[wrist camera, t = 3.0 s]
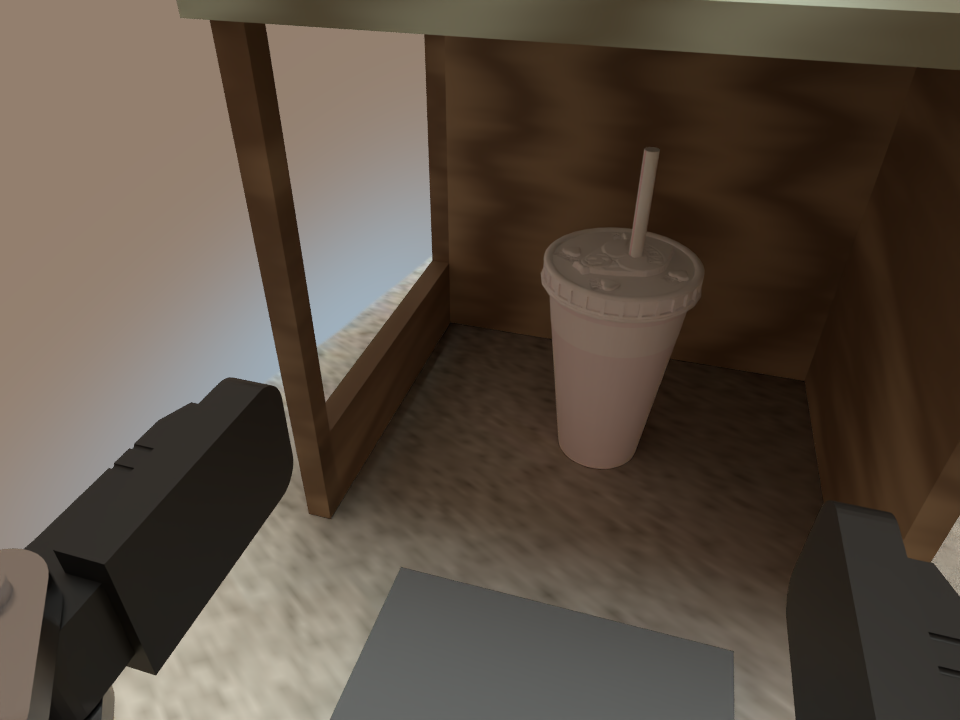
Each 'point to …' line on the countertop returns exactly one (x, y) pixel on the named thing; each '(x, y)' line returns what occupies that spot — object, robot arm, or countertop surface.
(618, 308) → the smoothie
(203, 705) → the countertop surface
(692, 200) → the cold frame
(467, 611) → the slate mat
